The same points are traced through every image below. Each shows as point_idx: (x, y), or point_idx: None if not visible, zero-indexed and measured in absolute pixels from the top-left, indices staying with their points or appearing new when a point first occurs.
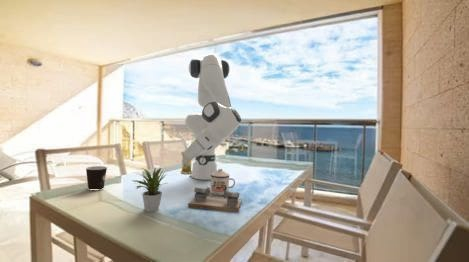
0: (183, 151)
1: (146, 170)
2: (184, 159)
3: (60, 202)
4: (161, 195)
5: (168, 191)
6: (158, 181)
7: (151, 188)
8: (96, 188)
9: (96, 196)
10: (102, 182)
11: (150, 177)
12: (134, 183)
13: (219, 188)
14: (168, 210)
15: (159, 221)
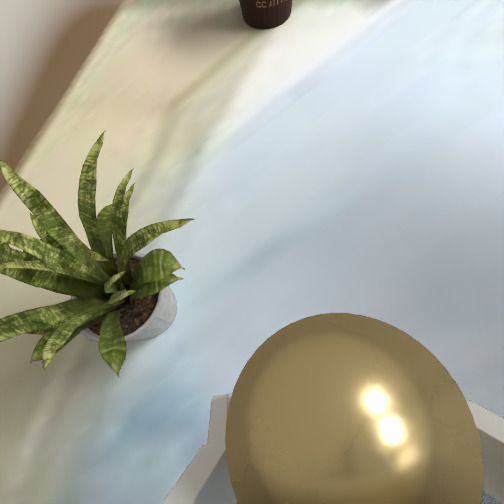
0: (375, 320)
1: None
2: (209, 445)
3: (117, 47)
4: (136, 336)
5: (399, 222)
6: (156, 271)
7: (79, 294)
8: (250, 18)
9: (200, 69)
10: (266, 1)
11: (55, 258)
12: (33, 216)
13: None
14: (159, 383)
15: (38, 422)
